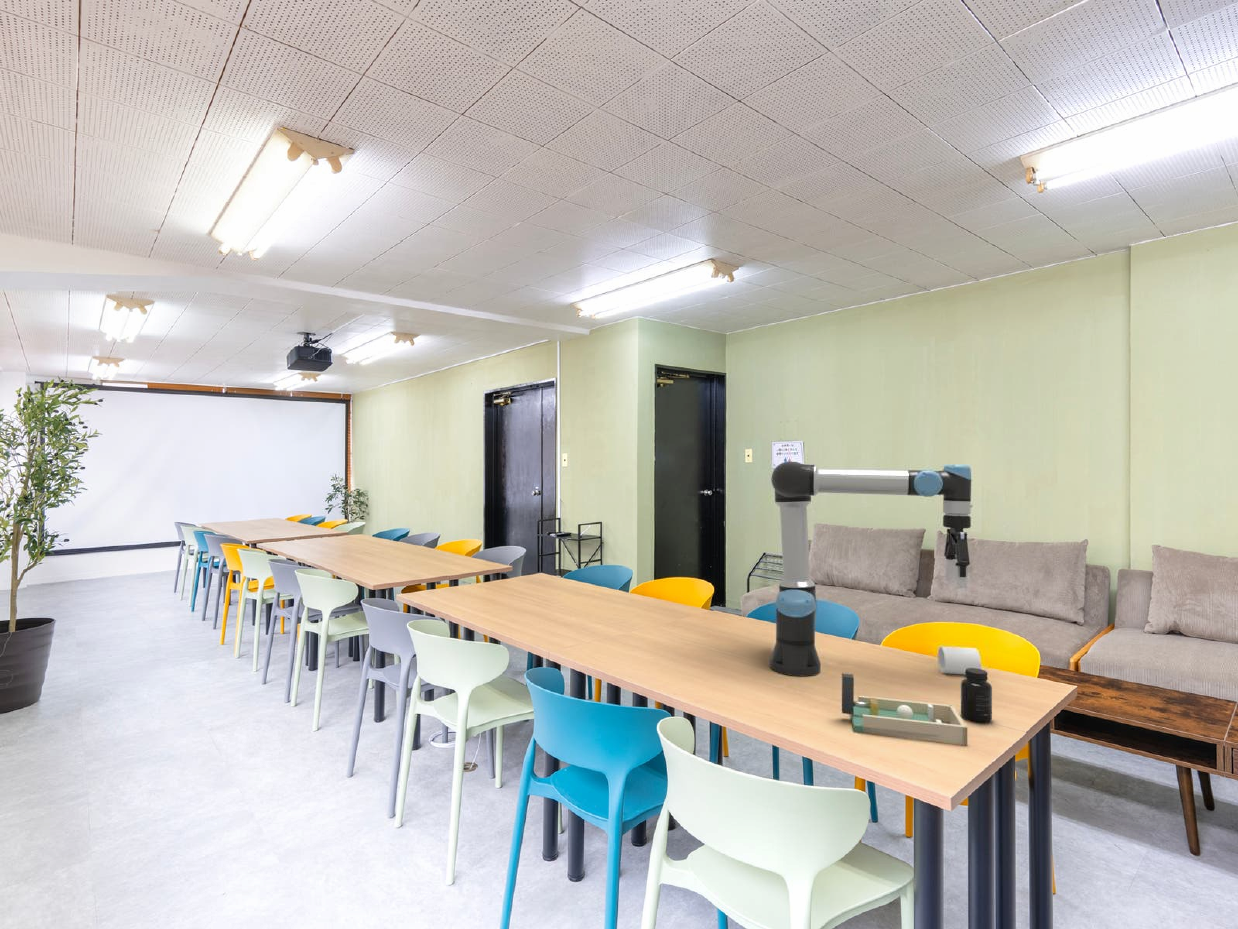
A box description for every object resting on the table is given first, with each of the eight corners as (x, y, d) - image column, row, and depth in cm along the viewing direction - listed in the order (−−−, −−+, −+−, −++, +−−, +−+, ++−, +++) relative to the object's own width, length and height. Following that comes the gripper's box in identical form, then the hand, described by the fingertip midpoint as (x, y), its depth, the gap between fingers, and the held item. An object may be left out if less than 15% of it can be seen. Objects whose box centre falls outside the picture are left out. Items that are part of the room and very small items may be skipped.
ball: (897, 722, 150) (897, 707, 150) (895, 716, 154) (895, 702, 154) (914, 724, 149) (914, 709, 149) (911, 718, 153) (911, 703, 153)
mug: (981, 679, 187) (981, 652, 187) (945, 676, 189) (945, 650, 189) (967, 667, 199) (967, 641, 199) (933, 664, 201) (933, 639, 201)
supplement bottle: (954, 713, 160) (954, 666, 160) (980, 713, 161) (980, 666, 161) (972, 724, 153) (972, 675, 153) (998, 723, 154) (998, 674, 154)
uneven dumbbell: (842, 714, 154) (842, 677, 154) (841, 708, 157) (841, 672, 157) (878, 718, 151) (878, 681, 151) (876, 712, 155) (876, 675, 155)
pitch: (854, 732, 148) (854, 715, 148) (849, 710, 161) (849, 694, 162) (967, 745, 141) (967, 727, 141) (953, 721, 155) (953, 705, 155)
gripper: (982, 518, 180) (981, 592, 180) (960, 512, 204) (959, 578, 204) (953, 517, 182) (952, 590, 182) (934, 511, 206) (933, 576, 206)
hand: (956, 584), depth 193 cm, fingers open, 13 cm apart
